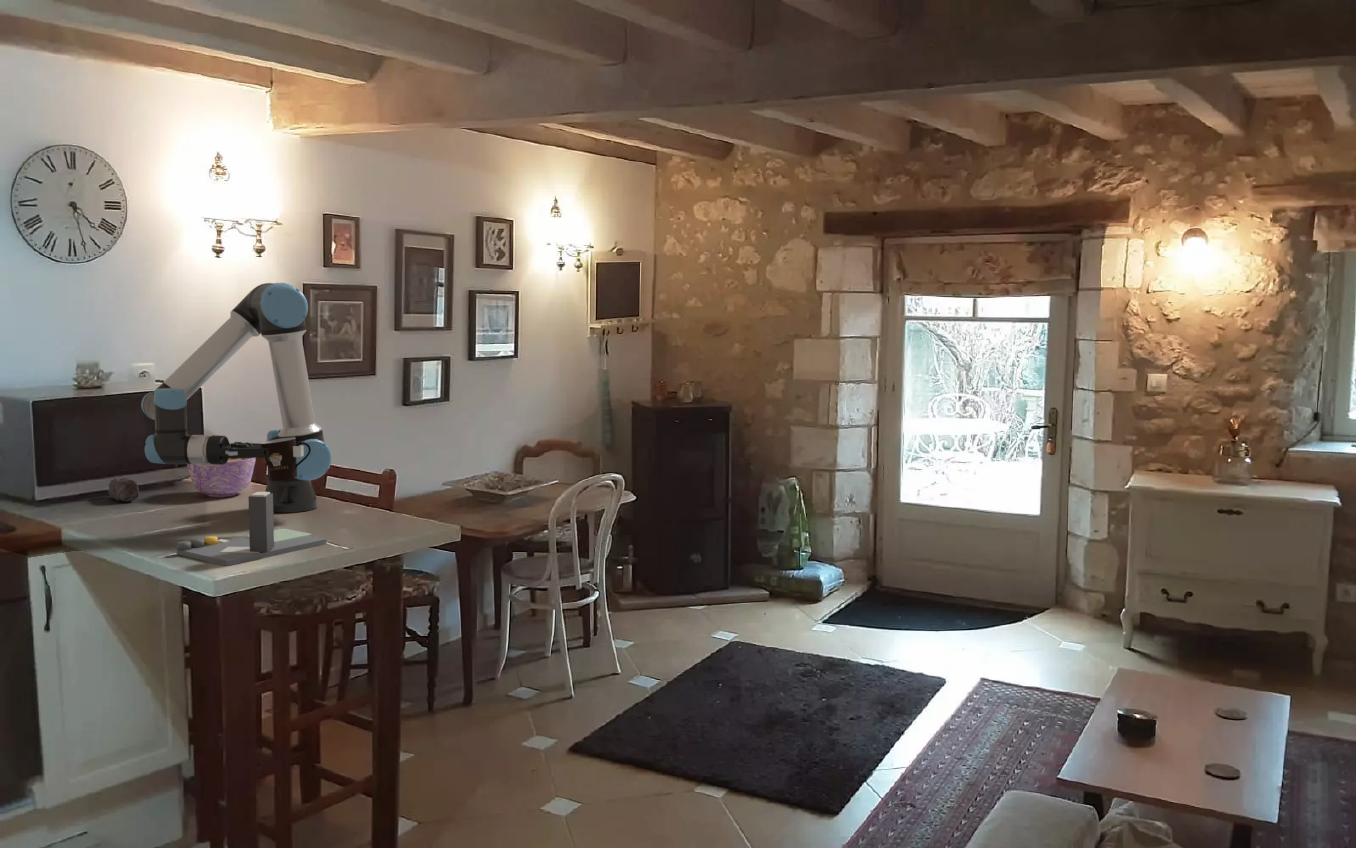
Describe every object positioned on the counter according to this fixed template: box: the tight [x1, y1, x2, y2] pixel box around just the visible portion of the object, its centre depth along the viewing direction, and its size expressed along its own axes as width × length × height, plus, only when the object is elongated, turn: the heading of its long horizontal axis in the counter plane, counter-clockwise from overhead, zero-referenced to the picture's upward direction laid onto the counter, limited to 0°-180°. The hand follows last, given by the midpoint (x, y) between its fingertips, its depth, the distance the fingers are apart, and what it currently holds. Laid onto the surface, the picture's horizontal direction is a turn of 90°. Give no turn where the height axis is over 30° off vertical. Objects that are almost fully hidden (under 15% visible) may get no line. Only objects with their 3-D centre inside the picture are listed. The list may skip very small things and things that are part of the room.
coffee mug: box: [259, 438, 311, 481], centre depth 281 cm, size 12×9×10 cm
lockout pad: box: [246, 528, 313, 543], centre depth 272 cm, size 11×11×1 cm
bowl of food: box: [186, 458, 257, 498], centre depth 331 cm, size 20×20×12 cm
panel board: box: [176, 528, 327, 567], centre depth 263 cm, size 28×19×3 cm, turn 148°
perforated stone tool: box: [107, 477, 140, 503], centre depth 320 cm, size 15×5×7 cm, turn 47°
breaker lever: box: [247, 491, 275, 552], centre depth 256 cm, size 4×5×13 cm
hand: (302, 451), depth 282 cm, fingers closed on coffee mug
